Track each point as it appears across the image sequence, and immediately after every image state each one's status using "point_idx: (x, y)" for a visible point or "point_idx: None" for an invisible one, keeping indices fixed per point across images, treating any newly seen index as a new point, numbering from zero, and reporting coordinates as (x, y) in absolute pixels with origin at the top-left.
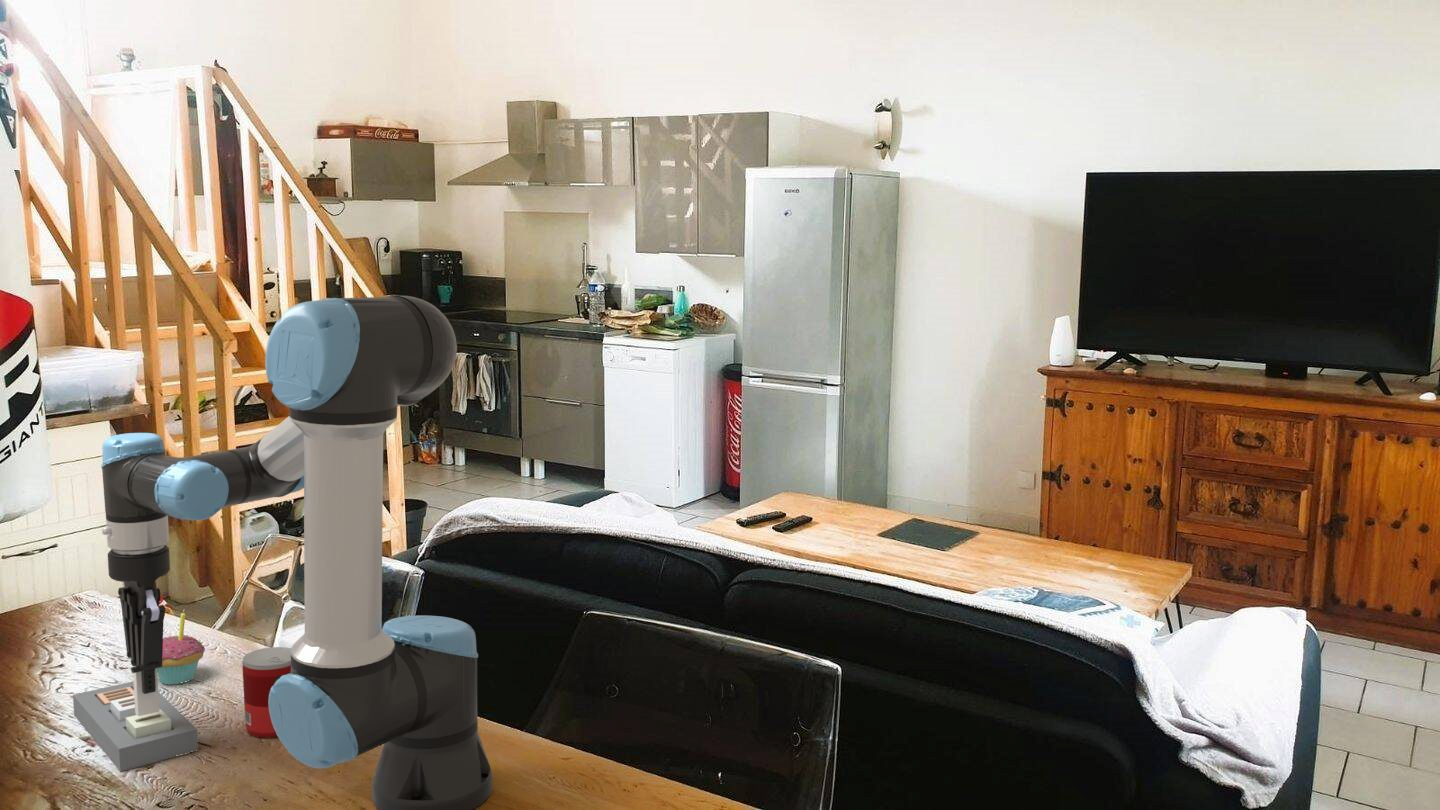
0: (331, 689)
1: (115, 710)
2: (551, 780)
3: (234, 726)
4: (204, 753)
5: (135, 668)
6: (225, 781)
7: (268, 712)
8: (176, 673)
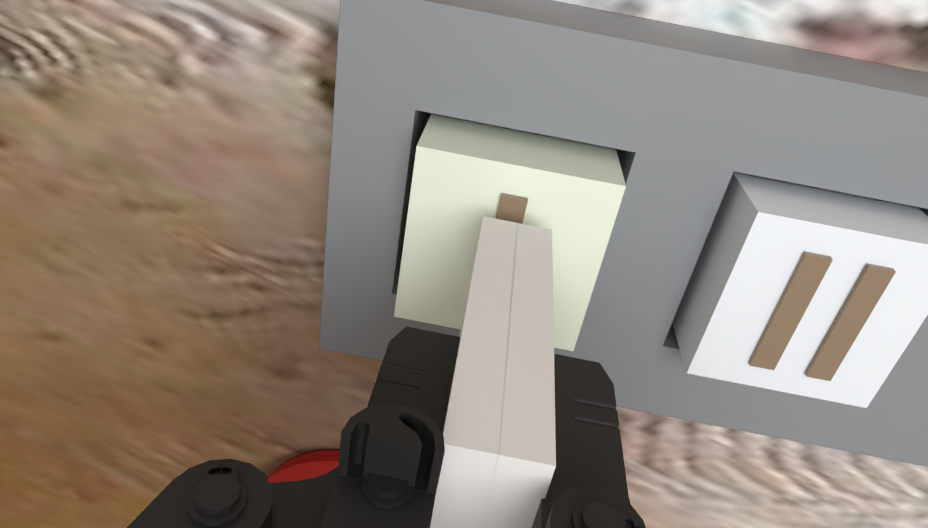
0: None
1: (843, 217)
2: None
3: None
4: (308, 291)
5: (382, 462)
6: (3, 214)
7: None
8: None
